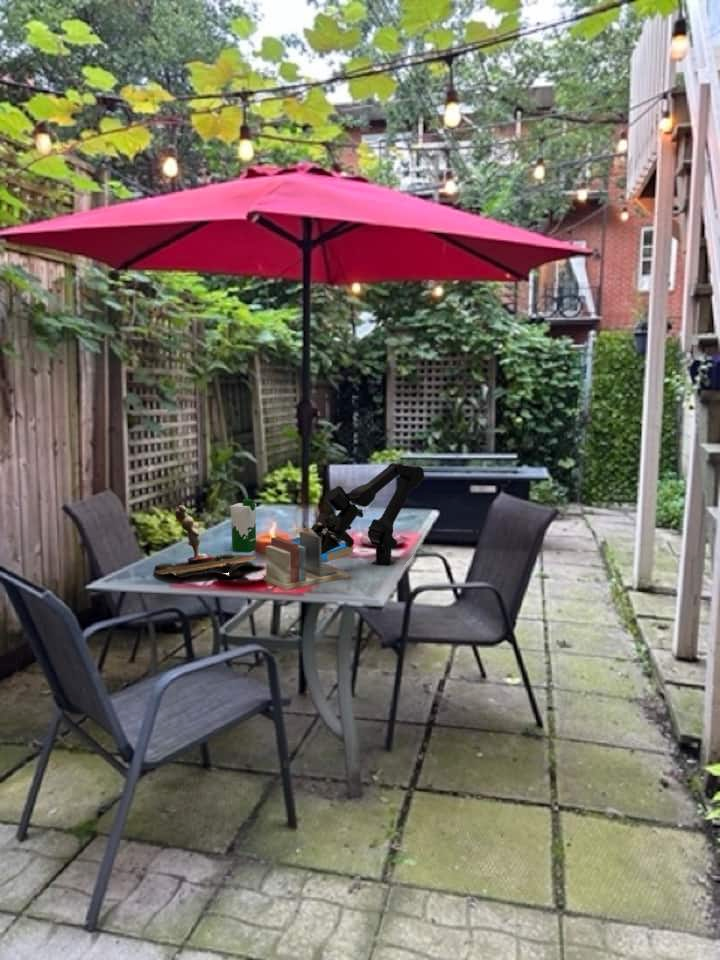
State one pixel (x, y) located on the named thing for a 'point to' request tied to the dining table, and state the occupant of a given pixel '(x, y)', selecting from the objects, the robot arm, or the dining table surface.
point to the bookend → (314, 555)
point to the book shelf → (292, 566)
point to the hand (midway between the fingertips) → (317, 555)
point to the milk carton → (243, 526)
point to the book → (332, 551)
